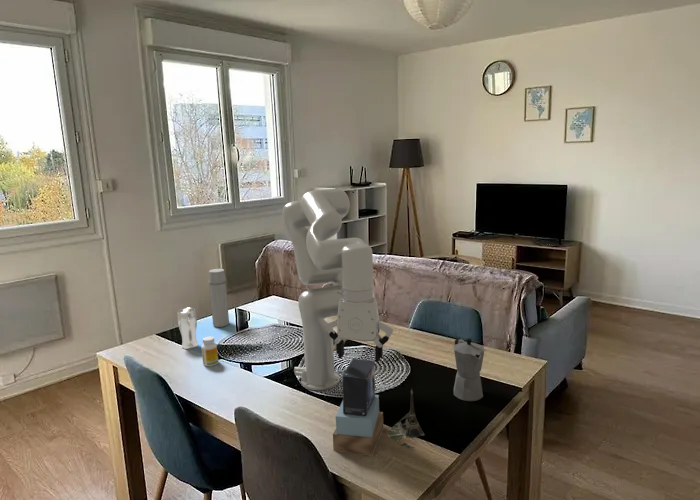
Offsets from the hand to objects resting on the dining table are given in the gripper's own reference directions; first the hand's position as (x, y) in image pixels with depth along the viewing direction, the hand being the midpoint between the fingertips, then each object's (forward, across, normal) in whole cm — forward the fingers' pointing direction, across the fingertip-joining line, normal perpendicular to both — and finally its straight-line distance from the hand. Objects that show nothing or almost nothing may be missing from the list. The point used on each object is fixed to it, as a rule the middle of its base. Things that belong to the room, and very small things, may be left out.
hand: (359, 358), depth 123 cm
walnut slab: (+23, 0, -1) cm, 23 cm away
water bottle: (+25, -81, +71) cm, 111 cm away
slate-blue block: (+18, 0, -1) cm, 18 cm away
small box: (+13, 0, -1) cm, 13 cm away
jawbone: (+24, -27, +56) cm, 67 cm away
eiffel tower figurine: (+23, +12, +6) cm, 27 cm away
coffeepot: (+23, +26, +29) cm, 45 cm away
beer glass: (+24, -81, +46) cm, 97 cm away
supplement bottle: (+24, -64, +33) cm, 76 cm away
